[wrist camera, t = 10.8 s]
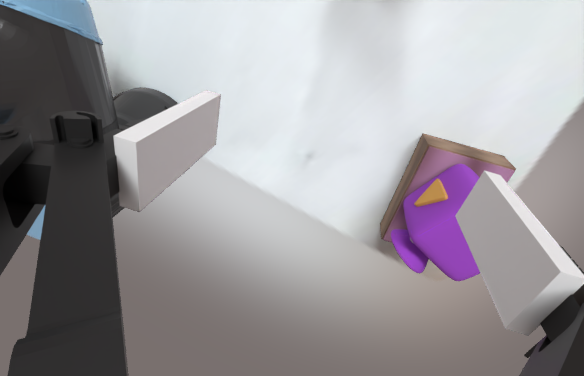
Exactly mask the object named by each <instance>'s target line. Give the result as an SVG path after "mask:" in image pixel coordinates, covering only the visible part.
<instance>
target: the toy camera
mask: <svg viewBox="0 0 584 376" xmlns="http://www.w3.org/2000/svg"><path fill="white" fill-rule="evenodd" d="M479 178H480V177H479V176H478V175H477V174H476V173H475V172H474V171H473V170H472V169H471V168H469V167H468V166H466V165H464V164H456V165H454V166H452V167H450V168H448V169H447V170H445V171H444V172H442V173H441V174H439V175H438V176H436V177H435V178H433V179H432V180H430V181H429V182H427V183H426V184H424V185H423V186H421V187H420V188H418V189H417V190H415V191H414V192H412V193H411V194H410V195H409V196H407V197H406V198H405V200H404V203H403V207H404V214H405V219H406V224H407V229H408V230H405V229H394V230H392V231H391V239H392V242H393V244H394V247H395V249H396V251H397V253H398V255H399V256H400V258H401V259H402V260H403V261H404V262H405V263H406V265H407V266H408V267H409V268H410V269H412V270H413V271H415V272H417V273H421V272H423V270H424V269H425V267H426V264H427V262H428V259H430V260H431V261H432V262H433V263H434V264H435V265H436V266H437V267H438V268H439V269H440V270H441V271H442V272H444V273H445V274H446V275H447V276H448V277H450V278H451V279H453V280H455V281H462V280H465V279H468V278H470V277H473V276H475V275H477V274H479V273H480V271H479V269H478V266H477V264H476V262H475V260H474V257H473V255H472V253H471V251H470V248H469V246H468V244H467V242H466V239H465V237H464V235H463V233H462V230H461V228H460V226H459V224H458V221H457V219H456V217H455V216H456V214H457V212H458V211H459V209H460V208H461V206H462V205H463V203H464V201H465V200H466V198H467V197H468V195H469V194H470V192H471V190H472V189H473V187H474V186H475V184H476V183H477V181H478V179H479Z"/></svg>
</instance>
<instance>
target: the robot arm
mask: <svg viewBox="0 0 584 376" xmlns="http://www.w3.org/2000/svg"><path fill="white" fill-rule="evenodd" d="M101 45H103V42H102V40H101V39H100V38H99V36H98V32H97V29H96V25H95V21H94V18H93V14H92V11H91V8H90V5H89V4H88V2H87V1H86V0H0V275H1V273H2V272H3V271H4V269H5V267H6V266H7V264H8V263H9V261H10V259H11V258H12V256H13V255H14V253H15V252H16V250H17V249H18V247H19V245H20V244H21V242H22V241H23V239H24V238H25V236H26V234H27V235H29V236H31V237H33V238H36V239H39V240H40V248H39V254H38V261H37V268H36V275H35V282H34V290H33V296H32V303H31V310H30V317H29V324H28V330H27V335H26V337H25V338H23V339H19V340H17V342H16V344H15V345H14V348H13V352H12V355H11V360H10V365H9V371H8V376H128V367H127V357H126V347H125V338H124V327H123V317H122V309H121V298H120V288H119V278H118V268H117V258H116V249H115V239H114V229H113V219H112V218H113V217H114V216H115V215H116V214H118V213H119V212H120V211H121V210H122V209H123V208H128V209H131V210H135V211H138V212H140V211H141V210H143V209H144V208H145V207H146V206H147V205H148V204H149V203H150V202H152V201H153V200H154V199H155V198H156V197H157V196H158V195H159V194H161V193H162V192H163V191H164V190H165V189H166V188H167V187H168V186H170V185H171V184H172V183H173V182H174V181H175V180H176V179H177V178H179V177H180V176H181V175H182V174H183V173H184V172H185V171H187V170H188V169H189V168H190V167H191V166H192V165H193V164H194V163H195V162H197V161H198V160H199V159H200V158H201V157H202V156H203V155H204V154H206V153H207V152H208V151H209V150H210V149H211V148H212V147H213V146H215V145H216V137H217V127H218V117H219V107H220V97H221V94H218V93H215V92H211V91H208V90H205V91H203V92H201V93H199V94H197V95H195V96H193V97H191V98H189V99H187V100H185V101H183V102H181V103H179V104H178V103H177V102H176V101H174V100H173V99H172V98H170V97H169V96H167V95H166V94H164V93H162V92H159V91H157V90H154V89H150V88H135V89H131V90H128V91H125V92H122V93H120V94H118V95H117V96H115V97H114V98H113V97H112V92H111V87H110V83H109V78H108V74H107V69H106V64H105V60H104V55H103V50H102V46H101ZM455 217H456V219H457V221H458V224H459V226H460V228H461V230H462V233H463V235H464V237H465V239H466V242H467V244H468V246H469V248H470V251H471V253H472V255H473V257H474V260H475V262H476V264H477V266H478V269H479V271H480V273H481V275H482V278H483V280H484V282H485V284H486V287H487V289H488V291H489V293H490V296H491V298H492V300H493V302H494V305H495V307H496V309H497V311H498V314H499V316H500V318H501V320H502V323H503V325H504V327H505V329H508V330H511V331H515V332H518V333H521V334H524V335H527V336H528V335H530V334H531V333H532V332H533V331H534V330H535V329H536V328H537V327H538V326H539V325H540V324H541V326H542V327H543V329H544V331H545V333H546V336H545V337H544V338H543V339H542V340H540V341H539V342H538V343H537V344H536V345H535V346H534V347H533V348H531V349H530V350H529V351H528V352H527V353H526V354H525V356H526V357H527V358H528V357H530V358H529V360H528V362H527V363H526V365H525V367H524V368H523V370H522V372H521V374H520V375H519V376H584V272H583V271H582V270H581V269H580V268H578V265H577V264H576V263H575V261H574V260H572V259H571V257H570V255H569V254H568V253H567V252H566V251H565V250H564V248H563V247H561V246H560V245H559V244H558V243H557V242H556V241H555V240H554V239H553V238H552V236H551V235H550V234H549V233H548V231H547V230H546V229H545V228H544V227H543V226H542V224H541V223H540V222H539V221H538V220H537V218H536V217H535V216H534V215H533V214H532V212H531V211H530V210H529V209H528V208H527V206H526V205H525V204H524V203H523V202H522V200H521V199H520V198H519V197H518V196H517V194H516V193H515V192H514V191H513V190H512V188H511V187H510V186H509V185H508V184H507V182H506V181H505V180H504V179H503V178H502V176H501V175H498V174H495V173H491V172H488V171H484V172H483V173H482V175H481V176H480V178H479V179H478V181H477V183H476V184H475V186H474V187H473V189H472V190H471V192H470V194H469V195H468V197H467V198H466V200H465V201H464V203H463V205H462V206H461V208H460V209H459V211H458V212H457V214H456V216H455Z"/></svg>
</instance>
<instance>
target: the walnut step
mask: <svg viewBox="0 0 584 376" xmlns="http://www.w3.org/2000/svg"><path fill="white" fill-rule="evenodd" d="M456 164H464V165H466V166H468V167H469V168H471V169H472V170H473V171H474V172H475V173H476V174H477V175H478V176H479V177H480V176H481V175H482V173H483V172H484V171H488V172H491V173H495V174H498V175H501V176H502V178H503V179H504V180H505V181H506V182H508V181H509V179H510V178H511V176H512V175H513V173H514V172H515V170H516V168H515V167H514V166H513V165H512V164H511V163H510V162H509V161H508V160H507V159H506V158H505V157H504V156H502V155H498V154H495V153H491V152H487V151H484V150H480V149H477V148H473V147H469V146H466V145H462V144H459V143H455V142H452V141H448V140H444V139H441V138H437V137H434V136H430V135H426V134H422V136H421V139H420V141H419V143H418V145H417V147H416V149H415V151H414V153H413V155H412V158H411V160H410V162H409V164H408V166H407V168H406V170H405V172H404V175H403V177H402V179H401V181H400V183H399V185H398V187H397V189H396V192H395V194H394V196H393V198H392V200H391V202H390V204H389V206H388V209H387V211H386V213H385V215H384V217H383V219H382V221H381V223H380V225H381V239H383V240H385V241H388V242H392V239H391V231H392V230H394V229H405V230H408V229H407V224H406V219H405V214H404V207H403V203H404V200H405V198H406V197H407V196H409V195H410V194H411V193H412V192H414V191H415V190H417V189H418V188H420V187H421V186H423V185H424V184H426V183H427V182H429V181H430V180H432V179H433V178H435V177H436V176H438V175H439V174H441V173H442V172H444V171H445V170H447V169H448V168H450V167H452V166H454V165H456ZM392 243H393V242H392Z"/></svg>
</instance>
